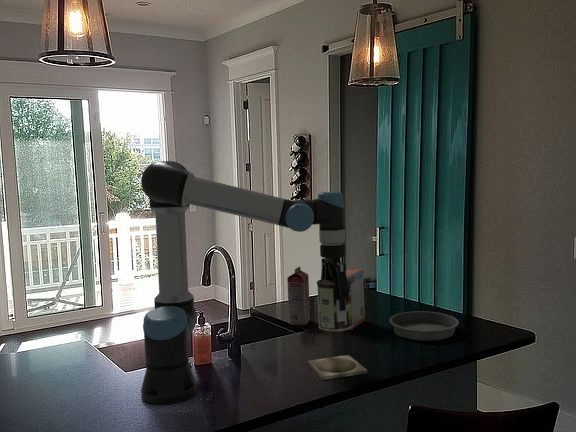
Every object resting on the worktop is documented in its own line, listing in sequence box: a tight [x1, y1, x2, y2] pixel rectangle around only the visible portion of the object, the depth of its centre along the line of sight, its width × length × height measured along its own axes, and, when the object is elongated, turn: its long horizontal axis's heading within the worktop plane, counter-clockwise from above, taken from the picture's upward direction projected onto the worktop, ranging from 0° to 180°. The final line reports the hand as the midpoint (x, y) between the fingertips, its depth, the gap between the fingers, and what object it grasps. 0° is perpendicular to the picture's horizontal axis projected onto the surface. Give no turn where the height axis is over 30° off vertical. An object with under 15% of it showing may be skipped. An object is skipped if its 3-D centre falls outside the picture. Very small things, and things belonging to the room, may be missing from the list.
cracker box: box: [346, 268, 366, 331], centre depth 210 cm, size 14×6×21 cm, turn 149°
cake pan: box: [389, 310, 460, 342], centre depth 200 cm, size 25×25×4 cm
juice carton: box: [286, 266, 311, 326], centre depth 217 cm, size 7×7×22 cm
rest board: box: [307, 354, 368, 381], centre depth 167 cm, size 14×14×1 cm
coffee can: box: [316, 278, 352, 333], centre depth 165 cm, size 10×10×14 cm
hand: (335, 316), depth 166 cm, fingers closed on coffee can, 10 cm apart
